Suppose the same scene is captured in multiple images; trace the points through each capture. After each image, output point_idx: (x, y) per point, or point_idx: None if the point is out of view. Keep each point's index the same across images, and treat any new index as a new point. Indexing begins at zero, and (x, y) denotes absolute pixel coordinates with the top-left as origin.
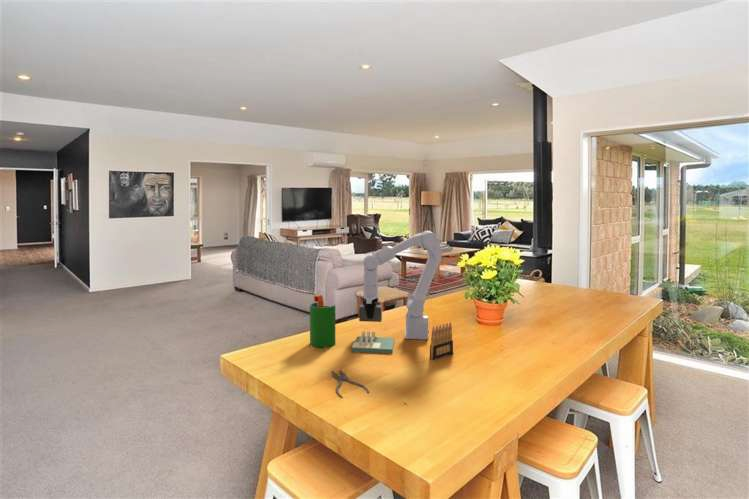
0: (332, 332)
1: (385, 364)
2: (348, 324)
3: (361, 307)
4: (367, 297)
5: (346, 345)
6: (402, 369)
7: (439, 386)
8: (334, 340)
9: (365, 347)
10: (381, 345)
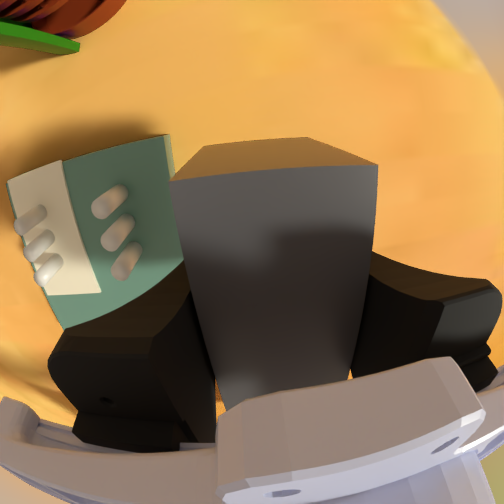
0: (10, 46)
1: (2, 310)
2: (453, 52)
3: (179, 224)
4: (54, 491)
5: (74, 111)
6: (9, 345)
7: (6, 387)
8: (54, 50)
9: (25, 240)
10: (79, 297)
